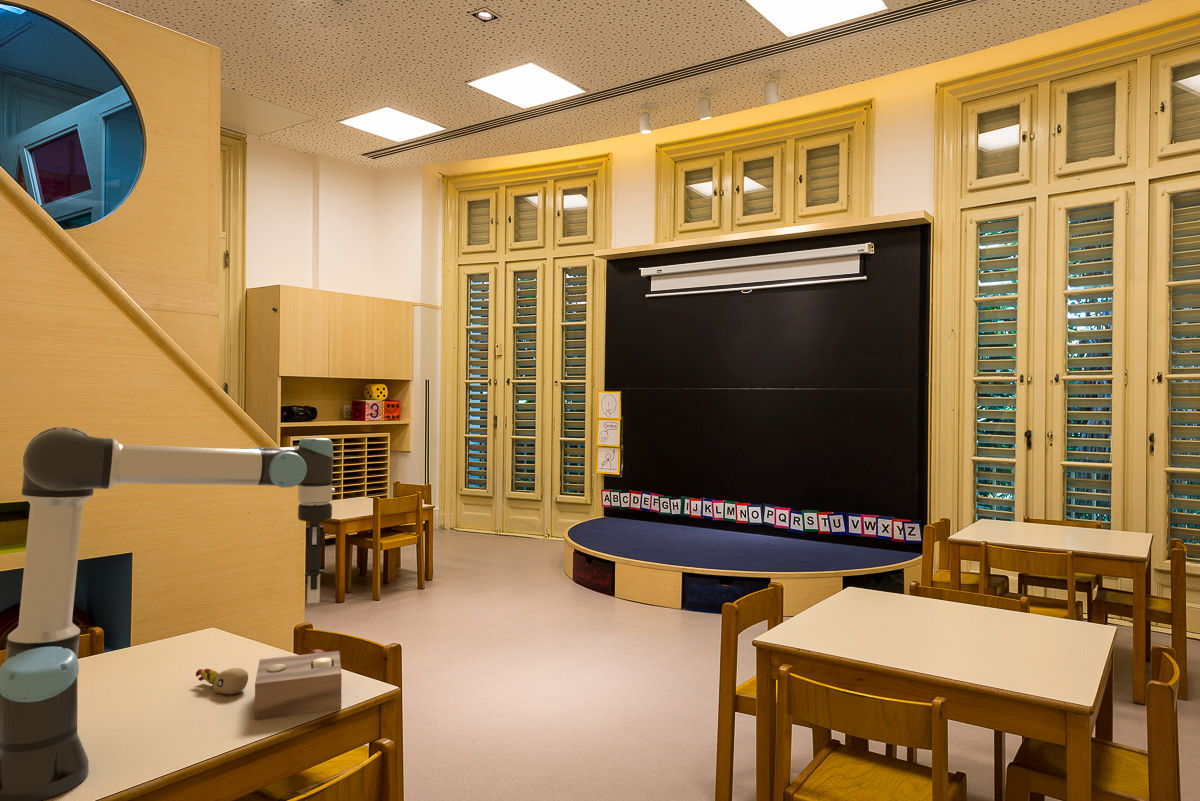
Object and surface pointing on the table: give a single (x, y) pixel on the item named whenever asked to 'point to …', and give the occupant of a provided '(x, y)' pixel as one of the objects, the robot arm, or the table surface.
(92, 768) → the table surface
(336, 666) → the socket block
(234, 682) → the toy
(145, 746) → the table surface
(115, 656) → the table surface
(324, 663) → the dowel
